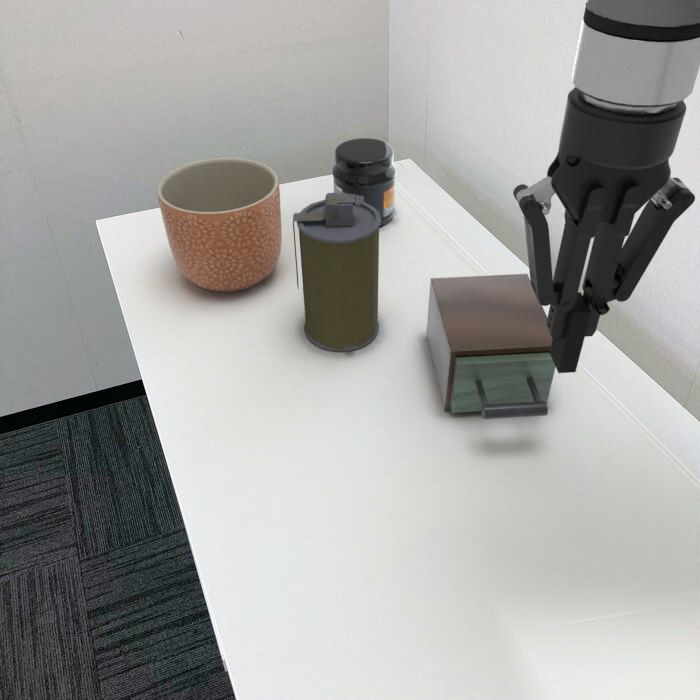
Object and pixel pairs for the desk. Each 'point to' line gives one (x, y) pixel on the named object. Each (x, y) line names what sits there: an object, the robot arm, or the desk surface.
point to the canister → (339, 271)
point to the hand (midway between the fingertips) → (562, 362)
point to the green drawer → (502, 385)
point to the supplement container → (367, 173)
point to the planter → (222, 221)
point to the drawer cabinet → (482, 321)
